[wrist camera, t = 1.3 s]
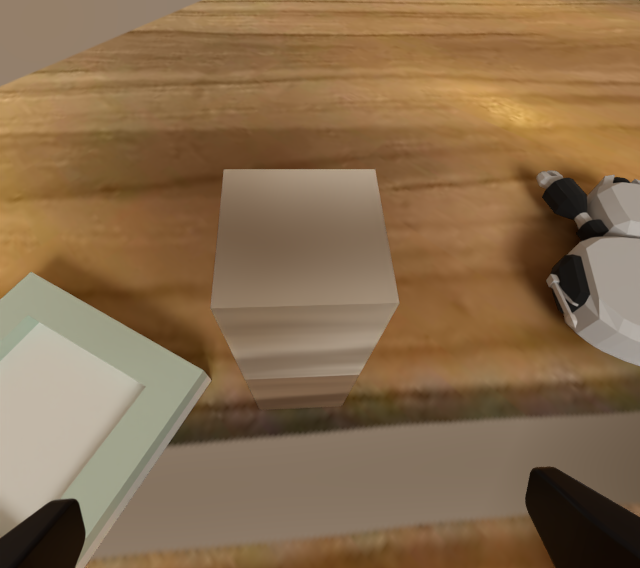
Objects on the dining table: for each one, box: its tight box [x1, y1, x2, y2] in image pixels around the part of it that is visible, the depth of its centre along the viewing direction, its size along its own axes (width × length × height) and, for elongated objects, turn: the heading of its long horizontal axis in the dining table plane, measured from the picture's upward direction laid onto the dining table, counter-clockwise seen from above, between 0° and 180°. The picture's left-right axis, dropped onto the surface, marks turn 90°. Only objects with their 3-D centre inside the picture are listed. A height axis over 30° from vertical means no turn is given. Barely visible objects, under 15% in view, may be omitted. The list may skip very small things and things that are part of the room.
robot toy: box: [536, 171, 640, 366], centre depth 24 cm, size 12×4×15 cm
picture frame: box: [0, 272, 211, 568], centre depth 18 cm, size 12×12×2 cm
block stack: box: [211, 169, 399, 410], centre depth 15 cm, size 4×4×13 cm
